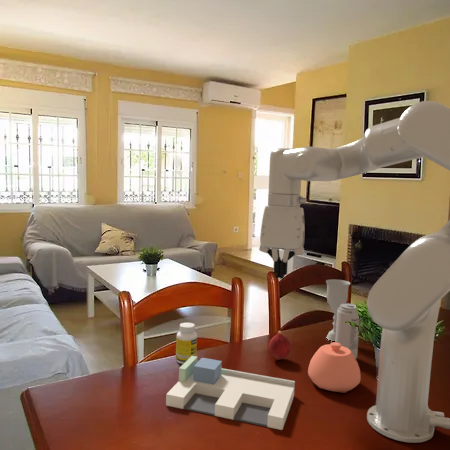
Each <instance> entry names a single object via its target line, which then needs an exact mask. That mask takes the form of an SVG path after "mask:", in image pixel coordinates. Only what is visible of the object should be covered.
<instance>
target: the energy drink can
mask: <svg viewBox="0 0 450 450" xmlns="http://www.w3.org/2000/svg"><path fill="white" fill-rule="evenodd" d="M356 305H357V304H354V303H349V302H346V303H342V304H340V307H339V309H338V310H337V323H336V338H335V342H337V343H340V344H341V346H344V347H346V348H348V349H349V350H350V351H351V352H352V354H353V355H354V357H355V359H356V360H357V358H358V351H359V349H358V347H359V336H356V335H359V334H360V330H359V331H358V327H352V326H351V325H350V323H345V321H349V322H355V323H356V324H358V325H359V326H360V320H361V319H359V316H358V314H357V312H356Z"/></svg>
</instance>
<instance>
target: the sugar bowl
mask: <svg viewBox="0 0 450 450" xmlns="http://www.w3.org/2000/svg"><path fill="white" fill-rule="evenodd" d="M307 369H308V370H307V373H308V376H309V379H310V380H311V381H312V382H313V384H314V385H316V387H318V388H319V389H322V390H327V391H330V392H337V393H341V394H343V393H345V394H346V393H347V392H349V391H352V390H353V389H354V388H356V387H357V386H358V385H359V384H360V382H361V379H362V377H361V369H360V366H359V363H358V361H357V358H356V359H355V357H354V355H353V354H352V352H351V351H350V350H349V349H348V348H346V347H344V346H341V344H340V343H337V342H330V344H324V345H322V346H320V347H319V348H318V349H317V351H316V352H315V353H314V354H313V356H312V358H311V359H310V362H309V364H308V367H307Z"/></svg>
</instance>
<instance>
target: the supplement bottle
mask: <svg viewBox="0 0 450 450" xmlns="http://www.w3.org/2000/svg"><path fill="white" fill-rule="evenodd" d="M195 327H196V324H195V323H192V322H181V323H180V324H179V331H178V332H177V333H176V341H175V343H176V344H175V345H176V346H175V361H176V362H177V363H178V364H181V365H183V364H184V363H185V362H186V361H187V360H188V359H189V358H190V357H191V356H197V348H198V347H197V346H198V334H197V333H196V332H195V331H196V328H195Z"/></svg>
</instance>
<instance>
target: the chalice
mask: <svg viewBox="0 0 450 450" xmlns="http://www.w3.org/2000/svg"><path fill="white" fill-rule="evenodd" d="M325 283H326V300H327V303H328V306H329V307H330V310H331V311H332V312H333V316H332V319H333V322H332V323H331V324H332V325H333V328H332V329H331V330H329V331H328V334H327V335H326V337H325V339H326V338H327V339H328V340H327V339H326V340H327V341H329V340H331V341H330V342H332V341H335V338H336V323H337V310H338V309H339V307H340V304H342V303H347V300H348V295H349V294H348V293H349V287H350V285H351V282H350V281H347V280H343V279H326V280H325Z"/></svg>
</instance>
